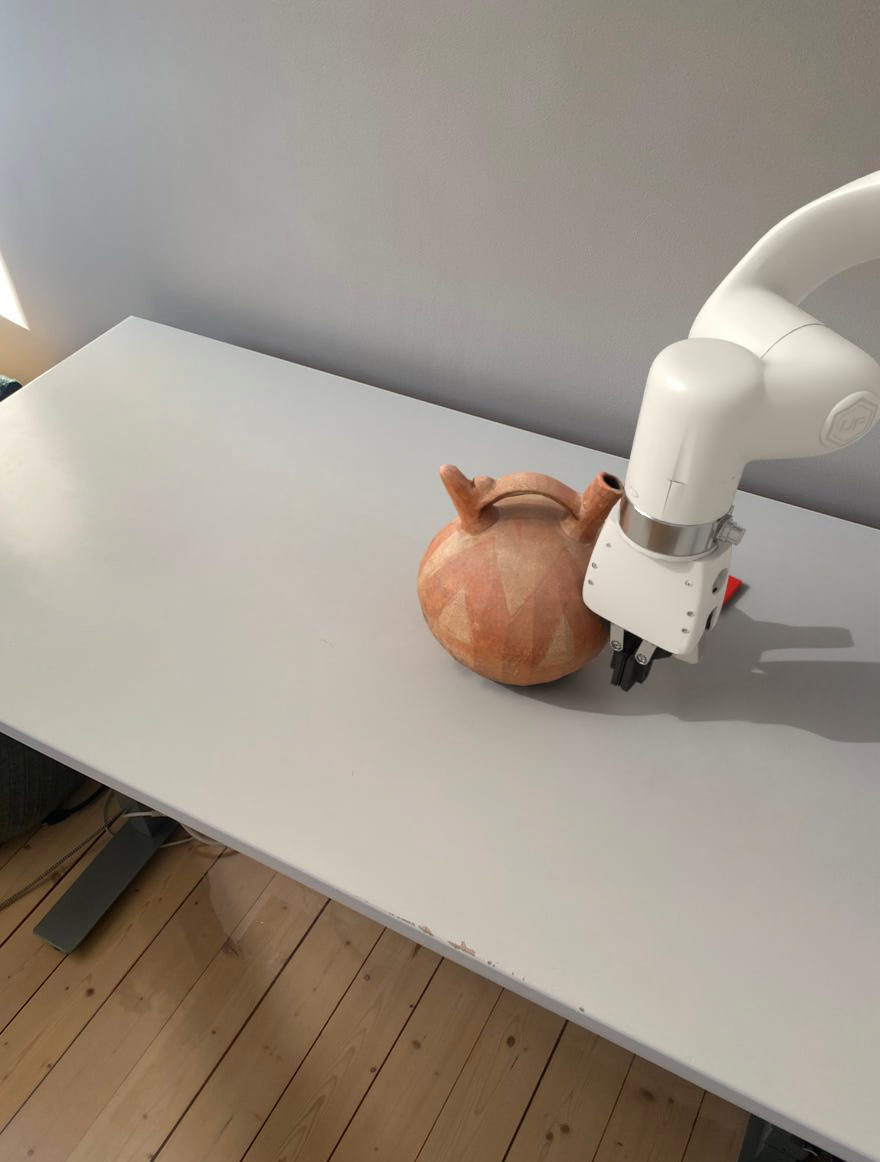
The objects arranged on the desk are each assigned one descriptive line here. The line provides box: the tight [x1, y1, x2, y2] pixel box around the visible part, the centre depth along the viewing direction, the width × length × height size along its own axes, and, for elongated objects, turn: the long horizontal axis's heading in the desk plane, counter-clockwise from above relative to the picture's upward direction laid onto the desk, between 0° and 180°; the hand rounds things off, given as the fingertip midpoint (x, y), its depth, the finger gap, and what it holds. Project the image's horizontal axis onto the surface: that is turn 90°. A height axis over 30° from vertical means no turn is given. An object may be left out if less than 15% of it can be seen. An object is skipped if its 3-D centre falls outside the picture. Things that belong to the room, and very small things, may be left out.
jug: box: [416, 464, 624, 687], centre depth 81 cm, size 18×18×20 cm
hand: (627, 678), depth 80 cm, fingers closed
